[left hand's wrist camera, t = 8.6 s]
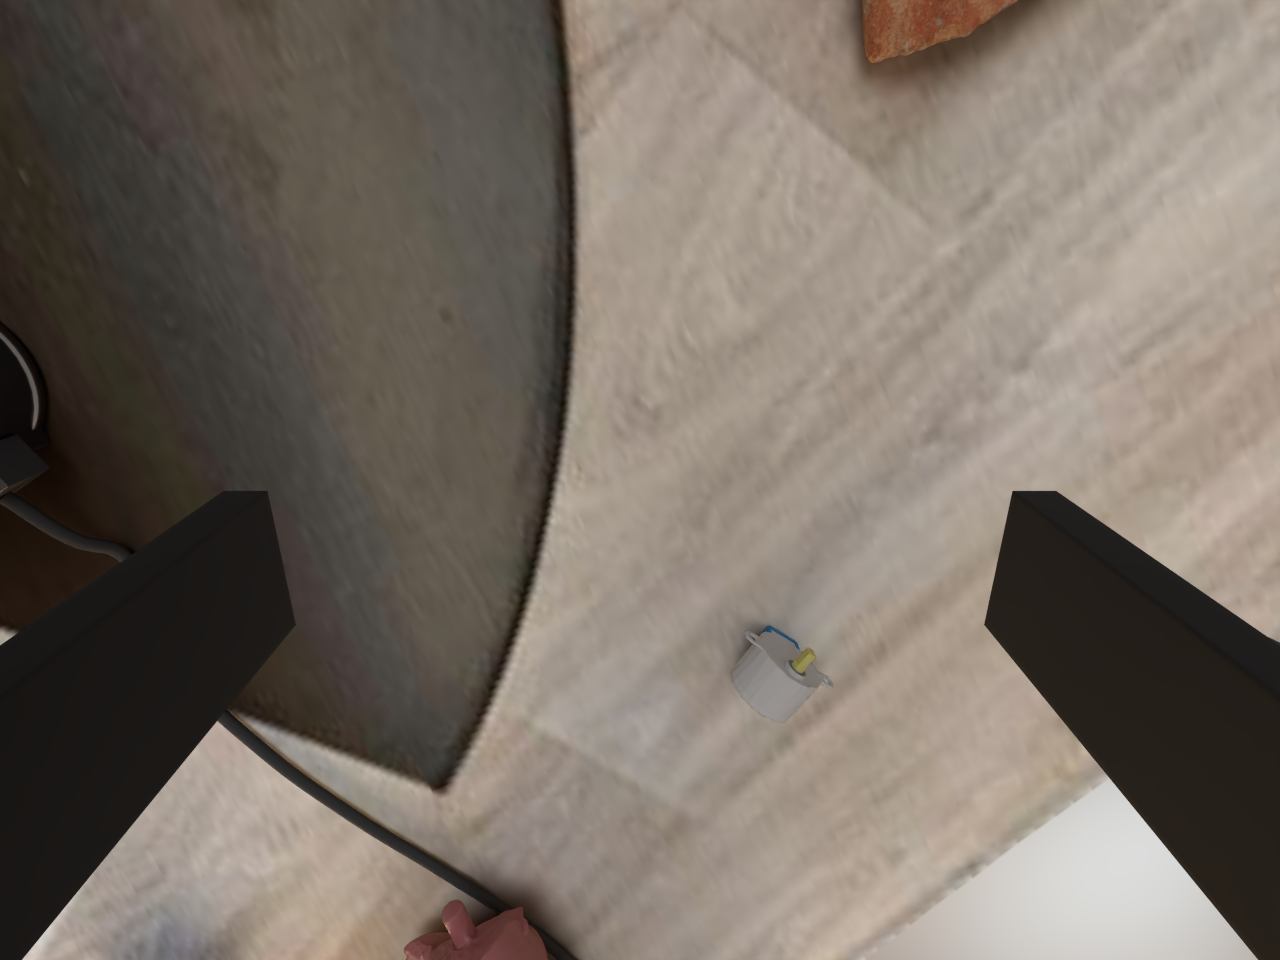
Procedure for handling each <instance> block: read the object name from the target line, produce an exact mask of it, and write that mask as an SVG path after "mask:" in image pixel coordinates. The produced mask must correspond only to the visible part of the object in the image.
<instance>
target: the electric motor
mask: <svg viewBox="0 0 1280 960" xmlns="http://www.w3.org/2000/svg"><path fill="white" fill-rule="evenodd" d="M750 635H751V636H753V637H754V638H755V640H756V641H755V640H753V639H752V638H751V637H750ZM745 636H746V638H747V639H748V640H749V641H750V642H751V643H753V644H752V645H751V647H750V648H749V649H748V650H747V651H746V653H745V654H744V655H743V656H742V657H741V659H740V660H739V661H738V662H737V663H736V664H735V666H734V667H733V668H732V670H731V678H732V681H733V684H734V686H735V688H736V690H737V691H738V693H739V694H740V695H741V697H742V698H743V699H744V700H745V701H746V702H747V703H748V704H749V705H750V706H751V707H752V708H753V709H754V710H755V711H757V712H758V713H759V714H761V715H762V716H764V717H766V718H768V719H770V720H772V721H775V722H786V721H787V720H788V719H789V718H790V717H791V716H792V715H793V714H794V713H795V712H796V711H797V709H798V708H799V707H800V706H801V705H802V704H803V703H804V702H805V701H806V700H807V699H808V698H809V696H810V695H811V694H812V693H813V692H814V691H815V690H816V689H817V688H818V687H819V686H820V684H822V685H824V686H826V687H828V688H830V689H831V688H833V687H834V685H833V682H832V681H831V680H830V679H829V678H828V677H827V676H826V675H824V674H822V673H821V672H819V671H817V670H816V668H815V667H814V666H813V664H812V663H811V662H812V661H813V660H814V658H815V657H816V656H815V654H814V651H813V650H812V649H810V648H808V647H807V648H806V649H805V650H804V651H803V652H801V651H800V650H799V647H798V644H797V643H796V642H795V641H794V640H792V639H791V638H789V637H787V636H786V635H784V634H782V633H781V632H779V631H777V630H775V629H774V628H772V627H770V626H768V627H767V629H766V630H765V631H764V632H763V633H762V634H761V635H760V636H757V635H756V634H754V633H753V632H751V631H746V632H745ZM823 678H824V679H826V680H827V681H828V683H826V682H825V680H824V679H823Z"/></svg>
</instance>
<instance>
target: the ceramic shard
mask: <svg viewBox="0 0 1280 960" xmlns="http://www.w3.org/2000/svg"><path fill="white" fill-rule="evenodd" d="M1017 1H1018V0H862V7H863V41H864V49H865V53H866V56H867V58H868V60H869V61H870V62H871V63H873V62H880V61H882V60H884V59H887V58H893V57H895V56H898V55H903V56H908V55H910V54H911V53H913V52H915V51H921V50H924V49H926V48H928V47H930V46H932V45H934V44H937V43H940V42H944V41H947V40H951V39H954V38H958V37H966V36H969V35H970V34H971V33H972V32H973V31H974V30H975V29H976V28H977V27H978V26H979V25H981V24H984V23H986V22H987V21H989V20H990V19H991V18H992V17H993V16H995V15H996V14H998V13H999V12H1001V11H1002V10H1004V9H1006V8H1007V7H1009V6H1010V5H1012V4H1014V3H1015V2H1017Z"/></svg>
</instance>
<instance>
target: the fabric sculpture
mask: <svg viewBox="0 0 1280 960" xmlns="http://www.w3.org/2000/svg"><path fill="white" fill-rule="evenodd" d="M442 921H443V923H444V925H445V927H446V928H447V930H448V932H449V933H447V932H437V933H429V934H425V935H422V936H420V937H418V938H416V939H414V940H413V941H411V942H410V943H409V944H407V945H406V947H405V948H404V952H405V954H406V955H407V956H408V957H407V959H406V960H548V957H547V952H546V949H545V946H544V943H543V941H542V939H541V937H540V935H539V934H538V932H537V931H536V930H535V929H534V928H533V927H532V926H530V925H528V922H527V920H526V919H525V918H524V917H523V907H517V908H515V909H513V910H507V911H504V912H502V913H501V914H499V915H498V916H496V917H494V918H492V919H491V920H488V921H485V922H484V923H482V924H480V925H478V926H477V927H475V926H474V924H473V922H472V920H471V918H470V916H469V914H468V912H467V910H466V908H465V906H464V904H463V903H462V902H461V901H460V900H453V901H451V902H449V903H448V904H447V905H446V906H445V907H444V909H443V911H442Z"/></svg>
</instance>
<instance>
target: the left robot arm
mask: <svg viewBox="0 0 1280 960" xmlns="http://www.w3.org/2000/svg"><path fill="white" fill-rule="evenodd" d="M295 625H296V624H295V619H294V614H293V610H292V605H291V600H290V595H289V591H288V586H287V581H286V577H285V572H284V567H283V562H282V558H281V553H280V548H279V544H278V539H277V534H276V529H275V525H274V520H273V515H272V511H271V506H270V501H269V496H268V492H267V491H223V492H222V493H220V494H219V495H217V496H216V497H215V498H213V499H212V500H210V501H209V502H207V503H206V504H204V505H203V506H201V507H200V508H199V509H197V510H196V511H194V512H193V513H191V514H190V515H188V516H187V517H186V518H184V519H183V520H181V521H180V522H178V523H177V524H175V525H174V526H173V527H171V528H170V529H168V530H167V531H165V532H164V533H162V534H161V535H160V536H158V537H157V538H155V539H154V540H152V541H151V542H149V543H148V544H146V545H145V546H144V547H142V548H141V549H139V550H138V551H136V552H135V553H133V554H132V555H131V556H129V557H128V558H126V559H125V560H123V561H122V562H120V563H119V564H118V565H116V566H115V567H113V568H112V569H110V570H109V571H107V572H106V573H104V574H103V575H102V576H100V577H99V578H97V579H96V580H94V581H93V582H91V583H90V584H89V585H87V586H86V587H84V588H83V589H81V590H80V591H78V592H77V593H76V594H74V595H73V596H71V597H70V598H68V599H67V600H65V601H64V602H63V603H61V604H60V605H58V606H57V607H55V608H54V609H52V610H51V611H49V612H48V613H47V614H45V615H44V616H42V617H41V618H39V619H38V620H36V621H35V622H34V623H32V624H31V625H29V626H28V627H26V628H25V629H23V630H22V631H21V632H19V633H18V634H16V635H15V636H13V637H12V638H10V639H9V640H7V641H6V642H5V643H3V644H2V645H0V960H22V959H23V958H24V956H25V955H26V954H27V953H28V952H29V950H30V949H31V948H32V947H33V945H34V944H35V943H36V942H37V941H38V939H39V938H40V937H41V936H42V934H43V933H44V932H45V931H46V930H47V928H48V927H49V926H50V925H51V923H52V922H53V921H54V920H55V918H56V917H57V916H58V915H59V914H60V912H61V911H62V910H63V909H64V907H65V906H66V905H67V904H68V903H69V901H70V900H71V899H72V898H73V896H74V895H75V894H76V893H77V892H78V890H79V889H80V888H81V887H82V885H83V884H84V883H85V882H86V881H87V879H88V878H89V877H90V876H91V874H92V873H93V872H94V871H95V870H96V868H97V867H98V866H99V865H100V863H101V862H102V861H103V860H104V859H105V857H106V856H107V855H108V854H109V852H110V851H111V850H112V849H113V848H114V846H115V845H116V844H117V843H118V841H119V840H120V839H121V838H122V837H123V835H124V834H125V833H126V832H127V830H128V829H129V828H130V827H131V826H132V824H133V823H134V822H135V821H136V819H137V818H138V817H139V816H140V815H141V813H142V812H143V811H144V810H145V808H146V807H147V806H148V805H149V804H150V802H151V801H152V800H153V799H154V797H155V796H156V795H157V794H158V793H159V791H160V790H161V789H162V788H163V786H164V785H165V784H166V783H167V782H168V780H169V779H170V778H171V777H172V775H173V774H174V773H175V772H176V771H177V769H178V768H179V767H180V766H181V764H182V763H183V762H184V761H185V759H186V758H187V757H188V756H189V755H190V753H191V752H192V751H193V750H194V748H195V747H196V746H197V745H198V744H199V742H200V741H201V740H202V739H203V737H204V736H205V735H206V734H207V733H208V731H209V730H210V729H211V728H212V726H213V725H214V724H215V723H216V722H217V720H218V719H219V718H220V717H221V715H222V714H223V713H224V712H225V711H226V709H227V708H228V707H229V706H230V704H231V703H232V702H233V701H234V700H235V698H236V697H237V696H238V695H239V693H240V692H241V691H242V690H243V689H244V687H245V686H246V685H247V684H248V682H249V681H250V680H251V679H252V678H253V676H254V675H255V674H256V673H257V671H258V670H259V669H260V668H261V667H262V665H263V664H264V663H265V662H266V660H267V659H268V658H269V657H270V656H271V654H272V653H273V652H274V651H275V649H276V648H277V647H278V646H279V645H280V643H281V642H282V641H283V640H284V638H285V637H286V636H287V635H288V634H289V632H290V631H291V630H292V629H293V627H294V626H295ZM984 625H985V626H986V627H987V629H988V630H989V631H990V632H991V634H992V635H993V636H994V637H995V638H996V640H997V641H998V642H999V643H1000V645H1001V646H1002V647H1003V648H1004V649H1005V651H1006V652H1007V653H1008V654H1009V656H1010V657H1011V658H1012V659H1013V660H1014V662H1015V663H1016V664H1017V665H1018V667H1019V668H1020V669H1021V670H1022V671H1023V673H1024V674H1025V675H1026V676H1027V678H1028V679H1029V680H1030V681H1031V682H1032V684H1033V685H1034V686H1035V687H1036V689H1037V690H1038V691H1039V692H1040V693H1041V695H1042V696H1043V697H1044V698H1045V700H1046V701H1047V702H1048V703H1049V704H1050V706H1051V707H1052V708H1053V709H1054V711H1055V712H1056V713H1057V714H1058V715H1059V717H1060V718H1061V719H1062V720H1063V722H1064V723H1065V724H1066V725H1067V726H1068V728H1069V729H1070V730H1071V731H1072V733H1073V734H1074V735H1075V736H1076V737H1077V739H1078V740H1079V741H1080V742H1081V744H1082V745H1083V746H1084V747H1085V748H1086V750H1087V751H1088V752H1089V753H1090V755H1091V756H1092V757H1093V758H1094V759H1095V761H1096V762H1097V763H1098V764H1099V766H1100V767H1101V768H1102V769H1103V771H1104V772H1105V773H1106V774H1107V775H1108V777H1109V778H1110V779H1111V780H1112V782H1113V783H1114V784H1115V785H1116V786H1117V788H1118V789H1119V790H1120V791H1121V792H1122V794H1123V795H1124V796H1125V797H1126V799H1127V800H1128V801H1129V802H1130V804H1131V805H1132V806H1133V807H1134V808H1135V810H1136V811H1137V812H1138V813H1139V815H1140V816H1141V817H1142V818H1143V819H1144V821H1145V822H1146V823H1147V824H1148V826H1149V827H1150V828H1151V829H1152V830H1153V832H1154V833H1155V834H1156V835H1157V837H1158V838H1159V839H1160V840H1161V841H1162V843H1163V844H1164V845H1165V846H1166V847H1167V849H1168V850H1169V851H1170V852H1171V854H1172V855H1173V856H1174V857H1175V859H1176V860H1177V861H1178V862H1179V863H1180V865H1181V866H1182V867H1183V868H1184V870H1185V871H1186V872H1187V873H1188V874H1189V876H1190V877H1191V878H1192V879H1193V881H1194V882H1195V883H1196V884H1197V885H1198V887H1199V888H1200V889H1201V890H1202V892H1203V893H1204V894H1205V895H1206V896H1207V898H1208V899H1209V900H1210V901H1211V902H1212V904H1213V905H1214V906H1215V907H1216V909H1217V910H1218V911H1219V912H1220V914H1221V915H1222V916H1223V917H1224V918H1225V920H1226V921H1227V922H1228V923H1229V925H1230V926H1231V927H1232V928H1233V930H1234V931H1235V932H1236V933H1237V934H1238V936H1239V937H1240V938H1241V939H1242V940H1243V942H1244V943H1245V944H1246V945H1247V947H1248V948H1249V949H1250V950H1251V952H1252V953H1253V954H1254V955H1255V956H1256V958H1257V959H1258V960H1280V643H1279V642H1277V641H1275V640H1273V639H1271V638H1269V637H1267V636H1265V635H1264V634H1262V633H1261V632H1259V631H1258V630H1257V629H1255V628H1254V627H1252V626H1251V625H1249V624H1248V623H1246V622H1245V621H1244V620H1242V619H1241V618H1239V617H1238V616H1236V615H1235V614H1233V613H1232V612H1231V611H1229V610H1228V609H1226V608H1225V607H1223V606H1222V605H1220V604H1219V603H1217V602H1216V601H1215V600H1213V599H1212V598H1210V597H1209V596H1207V595H1206V594H1204V593H1203V592H1202V591H1200V590H1199V589H1197V588H1196V587H1194V586H1193V585H1191V584H1190V583H1189V582H1187V581H1186V580H1184V579H1183V578H1181V577H1180V576H1178V575H1177V574H1176V573H1174V572H1173V571H1171V570H1170V569H1168V568H1167V567H1165V566H1164V565H1162V564H1161V563H1160V562H1158V561H1157V560H1155V559H1154V558H1152V557H1151V556H1149V555H1148V554H1147V553H1145V552H1144V551H1142V550H1141V549H1139V548H1138V547H1136V546H1135V545H1134V544H1132V543H1131V542H1129V541H1128V540H1126V539H1125V538H1123V537H1122V536H1120V535H1119V534H1118V533H1116V532H1115V531H1113V530H1112V529H1110V528H1109V527H1107V526H1106V525H1105V524H1103V523H1102V522H1100V521H1099V520H1097V519H1096V518H1094V517H1093V516H1092V515H1090V514H1089V513H1087V512H1086V511H1084V510H1083V509H1081V508H1080V507H1079V506H1077V505H1076V504H1074V503H1073V502H1071V501H1070V500H1068V499H1067V498H1065V497H1064V496H1063V495H1061V494H1060V493H1058V492H1057V491H1013V492H1012V496H1011V501H1010V506H1009V511H1008V515H1007V520H1006V525H1005V529H1004V534H1003V539H1002V544H1001V548H1000V553H999V558H998V562H997V567H996V572H995V577H994V581H993V586H992V591H991V595H990V600H989V605H988V610H987V614H986V619H985V624H984Z"/></svg>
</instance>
